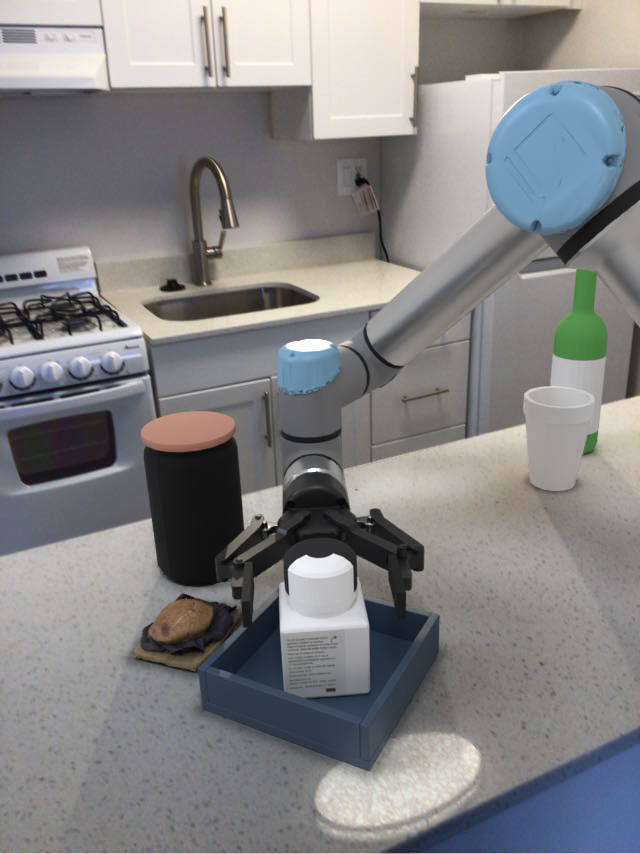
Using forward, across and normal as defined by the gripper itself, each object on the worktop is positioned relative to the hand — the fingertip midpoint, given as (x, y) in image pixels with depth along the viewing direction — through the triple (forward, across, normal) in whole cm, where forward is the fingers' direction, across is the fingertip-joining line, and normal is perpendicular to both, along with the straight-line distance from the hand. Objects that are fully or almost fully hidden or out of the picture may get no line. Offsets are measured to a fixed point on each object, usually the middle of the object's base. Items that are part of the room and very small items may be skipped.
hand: (324, 610), depth 66 cm
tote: (-2, 0, -9) cm, 10 cm away
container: (-2, 0, -9) cm, 9 cm away
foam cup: (-42, -35, -10) cm, 56 cm away
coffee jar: (-24, +14, -10) cm, 30 cm away
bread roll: (-10, +14, -10) cm, 20 cm away
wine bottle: (-54, -42, -10) cm, 69 cm away
